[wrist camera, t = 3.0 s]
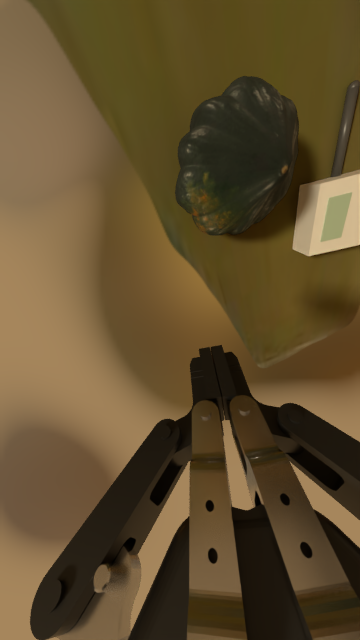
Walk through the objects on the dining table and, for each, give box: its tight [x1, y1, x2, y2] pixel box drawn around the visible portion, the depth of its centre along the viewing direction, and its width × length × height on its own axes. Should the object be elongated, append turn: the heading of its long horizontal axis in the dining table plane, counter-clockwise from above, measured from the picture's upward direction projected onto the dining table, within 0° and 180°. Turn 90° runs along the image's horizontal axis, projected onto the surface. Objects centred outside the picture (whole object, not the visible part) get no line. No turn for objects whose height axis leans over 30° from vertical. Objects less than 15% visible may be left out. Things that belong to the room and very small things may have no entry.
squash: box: [175, 76, 299, 235], centre depth 24 cm, size 14×15×15 cm
